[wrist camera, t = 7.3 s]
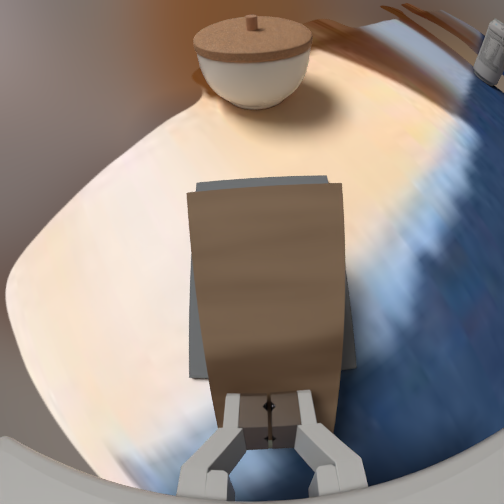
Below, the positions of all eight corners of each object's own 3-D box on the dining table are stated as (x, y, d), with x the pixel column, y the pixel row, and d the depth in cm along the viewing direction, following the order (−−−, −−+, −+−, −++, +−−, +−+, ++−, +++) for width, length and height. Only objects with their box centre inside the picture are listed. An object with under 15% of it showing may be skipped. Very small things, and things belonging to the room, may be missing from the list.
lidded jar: (301, 71, 28) (304, 4, 19) (313, 124, 24) (324, 36, 15) (212, 73, 28) (200, 8, 20) (199, 127, 24) (177, 42, 16)
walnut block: (331, 441, 10) (341, 183, 9) (222, 448, 10) (186, 192, 9) (315, 384, 15) (313, 192, 13) (231, 389, 15) (212, 198, 14)
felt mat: (354, 368, 15) (356, 367, 15) (191, 377, 16) (189, 377, 15) (325, 178, 21) (326, 175, 20) (197, 185, 21) (196, 182, 21)
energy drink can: (499, 88, 30) (521, 37, 16) (488, 87, 30) (513, 31, 16) (479, 70, 33) (498, 20, 19) (467, 68, 32) (487, 13, 18)
